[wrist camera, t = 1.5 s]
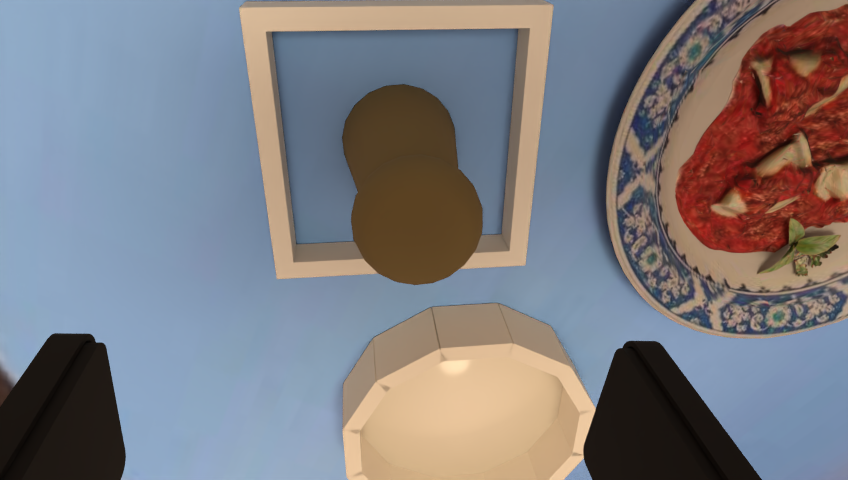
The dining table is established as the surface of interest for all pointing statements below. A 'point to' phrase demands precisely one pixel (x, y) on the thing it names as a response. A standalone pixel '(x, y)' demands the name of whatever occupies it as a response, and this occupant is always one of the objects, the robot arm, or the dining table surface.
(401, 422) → the bowl
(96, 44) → the dining table surface
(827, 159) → the ceramic plate
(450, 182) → the brown rounded piece
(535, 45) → the beige square frame
